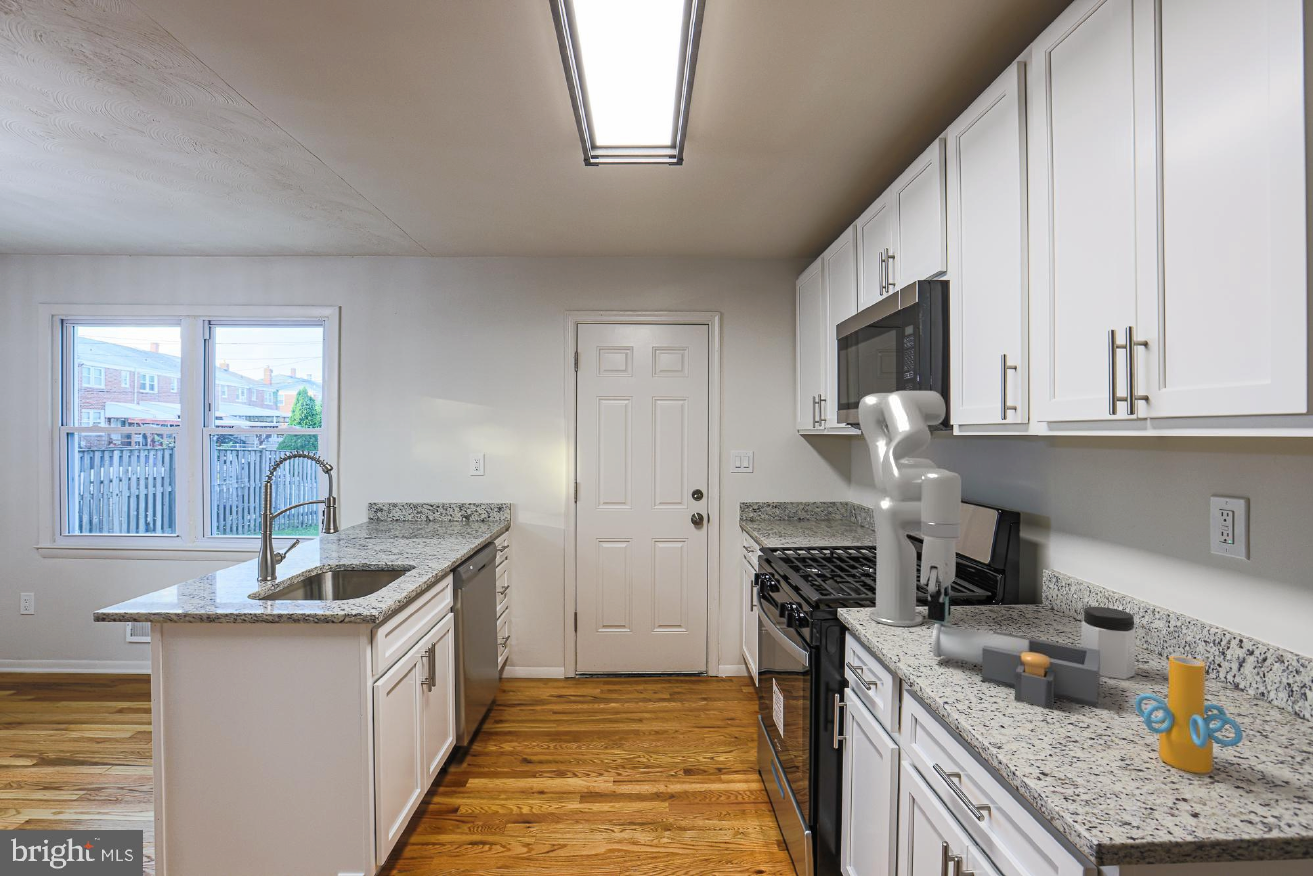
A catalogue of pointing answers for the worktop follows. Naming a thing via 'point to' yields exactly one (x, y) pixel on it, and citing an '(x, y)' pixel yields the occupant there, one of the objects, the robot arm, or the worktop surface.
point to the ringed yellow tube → (1187, 718)
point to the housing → (1046, 673)
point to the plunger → (1035, 663)
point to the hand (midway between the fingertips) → (939, 616)
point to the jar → (1110, 640)
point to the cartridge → (970, 641)
